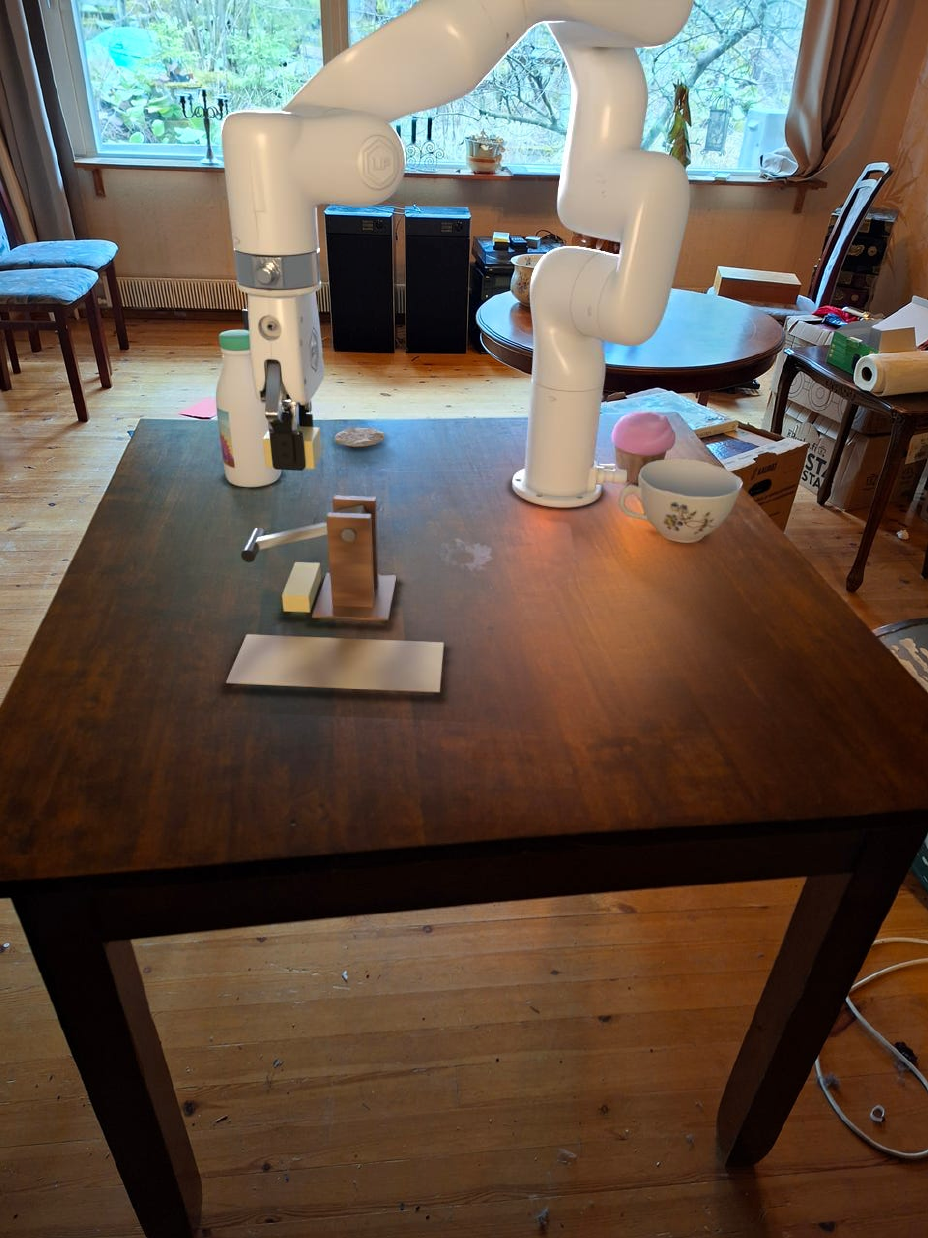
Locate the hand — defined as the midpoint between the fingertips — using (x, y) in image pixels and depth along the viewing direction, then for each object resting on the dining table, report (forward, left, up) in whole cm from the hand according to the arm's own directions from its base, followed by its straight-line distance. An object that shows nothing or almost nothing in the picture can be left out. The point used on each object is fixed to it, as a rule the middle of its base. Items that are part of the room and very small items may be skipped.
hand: (294, 457), depth 85 cm
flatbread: (0, -44, -15) cm, 46 cm away
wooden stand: (-6, +3, -15) cm, 17 cm away
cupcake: (-42, -34, -16) cm, 56 cm away
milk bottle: (+13, -29, -16) cm, 35 cm away
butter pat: (0, 0, 0) cm, 0 cm away
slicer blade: (-2, +3, -8) cm, 9 cm away
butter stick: (0, +3, -15) cm, 16 cm away
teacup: (-44, -17, -16) cm, 50 cm away
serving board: (-6, +15, -15) cm, 23 cm away
